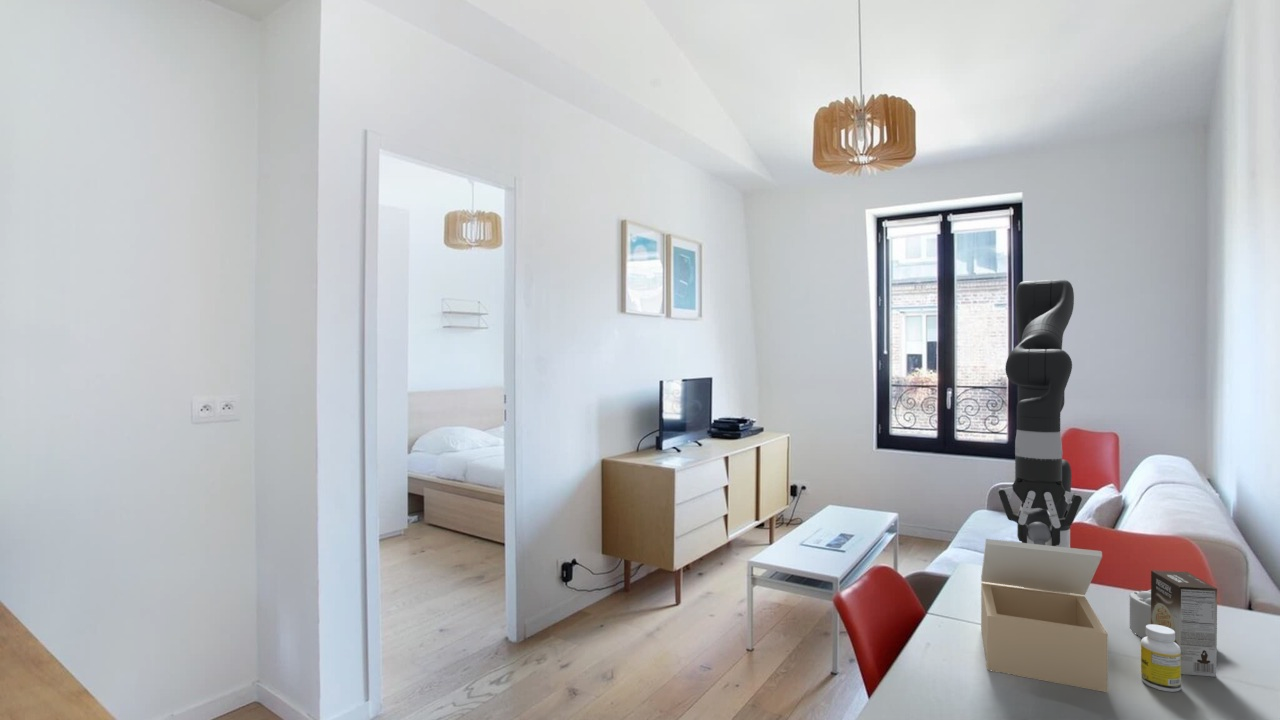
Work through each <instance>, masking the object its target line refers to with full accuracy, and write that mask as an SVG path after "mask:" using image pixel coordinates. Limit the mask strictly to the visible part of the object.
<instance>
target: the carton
mask: <svg viewBox="0 0 1280 720" xmlns="http://www.w3.org/2000/svg"><path fill="white" fill-rule="evenodd" d="M980 582H981V581H980ZM980 586H981V587H980V588H981V589H980V591H981V592H980V595H981V596H980V601H981V602H980V604H981V607H980V609H981V610H980V615H981V616H980V617H981V618H980V619H981V620H980V622H981V623H980V627H981V628H980V629H981V636H982V637H981V638H982V644H983V650H984V655H985V656H984V657H985V662H986V664H985V665H986V669H987V671H989V670H992V671H991V672H994V671H997V672H996V673H1000V672H1004V673H1003V674H1005V673H1009V674H1008V675H1010V674H1013V675H1012V676H1016V675H1017V677H1020V678H1021V677H1023V678H1028V679H1032V680H1033V679H1034V680H1039V681H1043V682H1044V681H1045V682H1050V683H1055V684H1060V685H1065V686H1071V687H1077V688H1082V689H1089V690H1094V691H1098V692H1104V693H1108V646H1109V645H1108V643H1109V642H1108V639H1109V638H1108V633H1107V630H1106V628H1105V627H1104V626H1103V624H1102V622H1101V620H1100V618H1098V616H1097V613H1095V611H1094V608H1093V607H1092V605H1091V604H1090V602H1089V601H1088V600H1087V597H1086V596H1085V595H1079V594H1071V593H1070V594H1067V593H1059V592H1052V591H1044V590H1037V589H1029V588H1024V587H1018V586H1010V585H1003V584H995V583H988V582H981V583H980Z"/></svg>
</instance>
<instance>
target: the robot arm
mask: <svg viewBox="0 0 1280 720" xmlns="http://www.w3.org/2000/svg"><path fill="white" fill-rule="evenodd" d="M1014 303H1015V316H1016V317H1015V319H1016V321H1015V322H1016V330H1017V332H1016V334H1017V345H1016V346H1015V347H1014V348H1013V349H1012V350H1011V352H1010V353H1009V355H1008V357H1007V359H1006V362H1005V374H1006V377H1007V379H1008V380H1009V381H1010V382H1011V383H1012V384H1013V385H1017V405H1016V434H1015V435H1016V436H1015V440H1014V441H1015V442H1014V443H1015V444H1014V448H1015V449H1014V454H1015V456H1014V458H1015V460H1014V464H1015V465H1014V467H1015V469H1014V470H1015V471H1014V474H1015V476H1014V478H1015V479H1014V482H1013V484H1012V485H1011V486H1009V487H1004V488H1003V487H999V488H997V493H998V497H999V499H1000V502H1001V504H1002V507H1003V509H1004V512H1005V515H1006V518H1007V519H1008V521H1011V522H1015V523H1016V525H1017V539H1018V540H1019V542H1021V543H1029V544H1034V542H1033V541H1031V540H1030V539H1029V538H1028V536H1027V527H1028V525H1029V524H1031V523H1033V522H1041V523H1044V524H1045V525H1047V526H1048V527H1049V529H1050V531H1051V538H1050V540H1049V541H1048V542H1046V543H1045V545H1048V546H1058V547H1067V548H1071V526H1072V525H1073V522H1074V519H1075V517H1076V515H1077V513H1078V511H1079V508H1080V505H1081V502H1082V501H1083V499H1082V496H1081V495H1080V494H1078V493H1076V492H1075V493H1073V492H1071V491H1072V478H1073V477H1072V469H1071V468H1072V467H1071V465H1070V463H1069V461H1068V460H1066V459H1063V455H1064V452H1063V443H1062V436H1061V435H1062V434H1061V413H1062V410H1063V409H1064V406H1065V390H1066V387H1067V386H1068V382H1069V380H1070V377H1071V374H1072V369H1073V362H1072V359H1071V356H1070V355H1069V354H1068V353H1067V352H1066V351H1065V350H1063V339H1064V333H1065V330H1066V329H1067V327H1068V324H1069V322H1070V320H1071V317H1072V315H1073V310H1074V305H1075V293H1074V288H1073V284H1072V283H1071V282H1070V281H1069V280H1066V279H1043V280H1042V279H1041V280H1027V281H1025V280H1024V281H1021V282H1019V283H1018V284H1017V286H1016V289H1015V301H1014ZM1013 493H1015V495H1016V496H1017V498H1018V499H1019V500H1020V501H1021V503H1020V507H1019V510H1018V513H1017V514H1016V513H1014V512H1013V508H1012V506H1011V504H1010V501H1009V500H1011V499H1012V497H1013V496H1012V495H1013ZM1023 588H1026V587H1023ZM1029 589H1033V588H1029ZM1037 590H1041V589H1037ZM1044 591H1048V590H1044ZM1052 592H1056V591H1052ZM1059 593H1064V592H1059ZM1067 594H1071V593H1067Z"/></svg>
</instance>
